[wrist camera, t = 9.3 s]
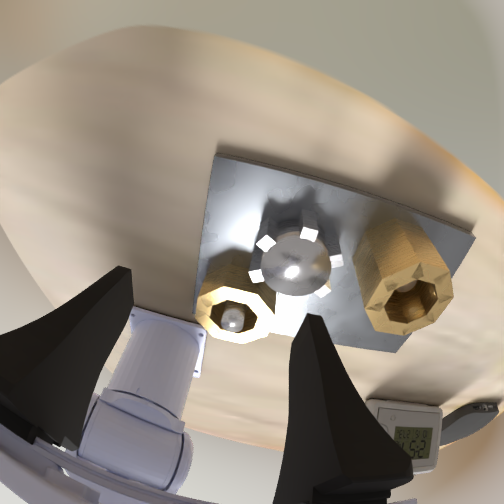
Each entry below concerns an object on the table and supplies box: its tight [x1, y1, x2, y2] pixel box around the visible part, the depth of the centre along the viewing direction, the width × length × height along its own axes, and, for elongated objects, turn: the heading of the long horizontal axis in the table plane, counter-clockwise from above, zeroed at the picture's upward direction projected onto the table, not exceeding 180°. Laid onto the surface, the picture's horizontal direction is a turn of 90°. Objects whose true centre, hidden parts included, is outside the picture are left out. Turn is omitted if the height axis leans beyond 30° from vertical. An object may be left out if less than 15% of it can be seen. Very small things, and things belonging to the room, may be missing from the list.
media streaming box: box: [439, 403, 499, 446], centre depth 38 cm, size 15×15×3 cm
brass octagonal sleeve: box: [352, 218, 454, 336], centre depth 18 cm, size 6×6×5 cm
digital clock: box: [365, 399, 443, 475], centre depth 30 cm, size 16×9×11 cm, turn 58°
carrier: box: [192, 153, 476, 353], centre depth 21 cm, size 14×20×4 cm
